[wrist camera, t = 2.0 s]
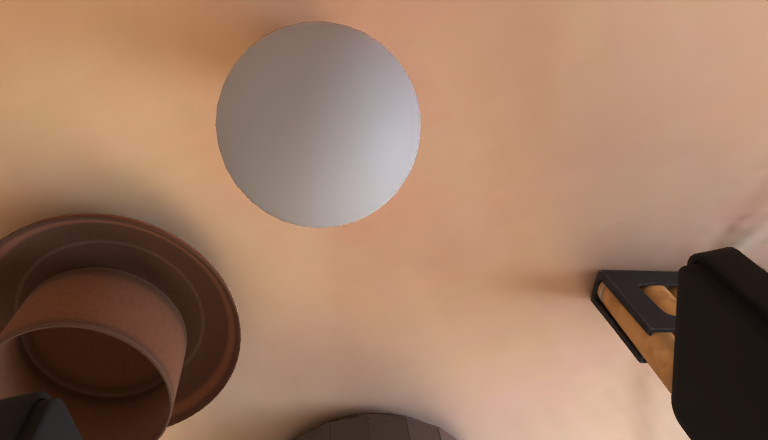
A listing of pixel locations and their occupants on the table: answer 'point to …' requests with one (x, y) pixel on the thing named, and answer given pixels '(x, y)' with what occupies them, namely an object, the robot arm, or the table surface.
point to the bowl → (376, 429)
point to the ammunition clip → (641, 314)
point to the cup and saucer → (114, 324)
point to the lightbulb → (318, 124)
